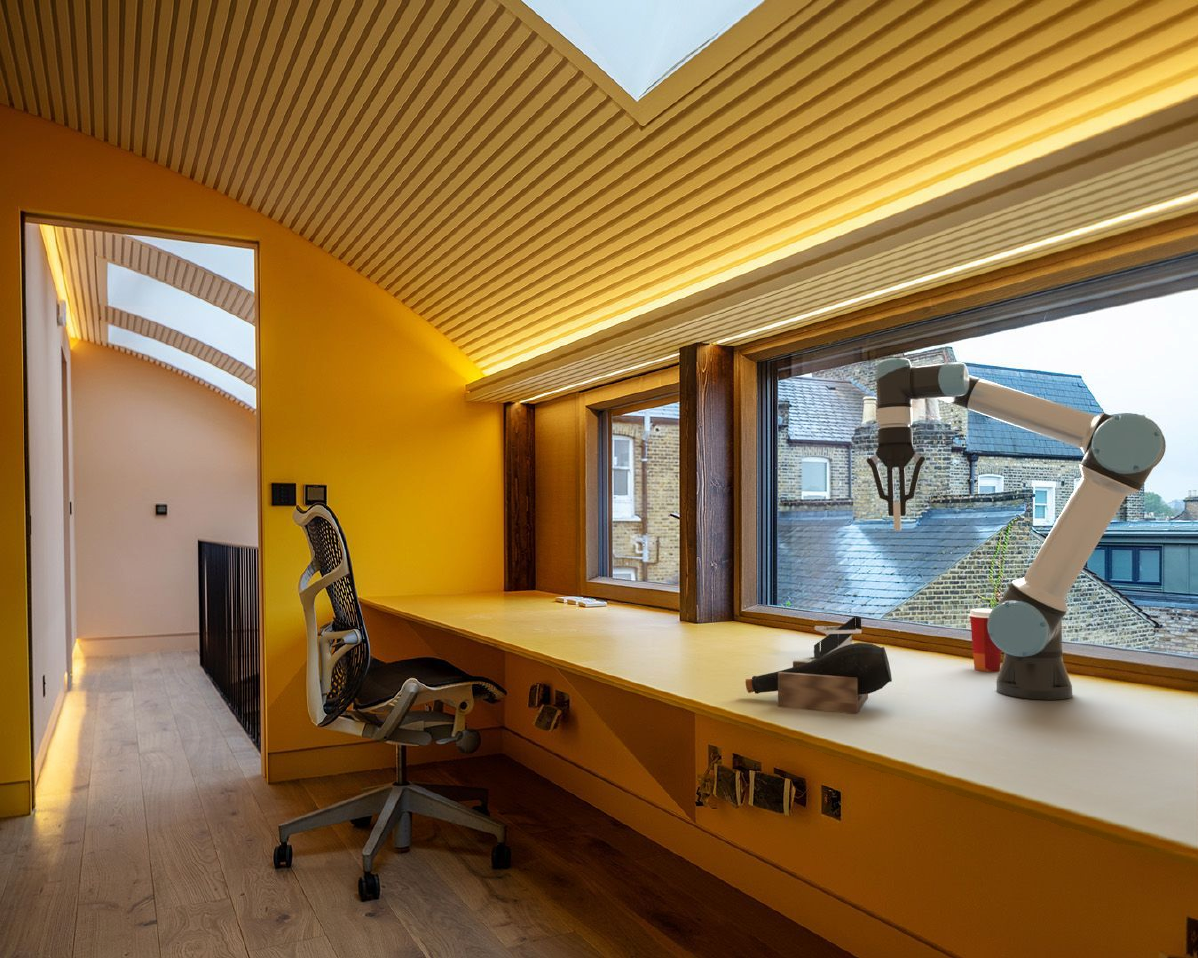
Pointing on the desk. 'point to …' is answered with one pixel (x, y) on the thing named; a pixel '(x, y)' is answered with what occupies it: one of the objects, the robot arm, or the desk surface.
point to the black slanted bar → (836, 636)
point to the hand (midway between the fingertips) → (897, 530)
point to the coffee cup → (983, 642)
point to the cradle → (819, 692)
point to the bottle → (838, 669)
